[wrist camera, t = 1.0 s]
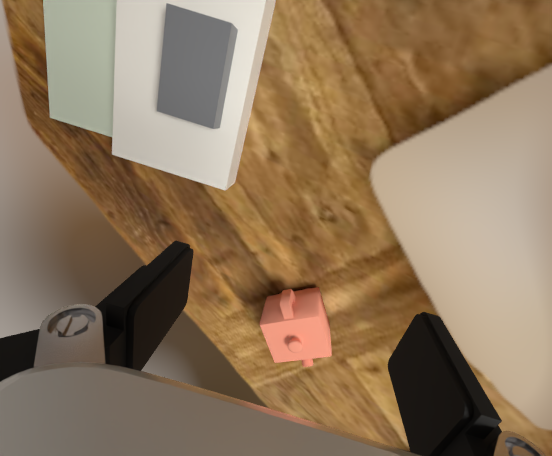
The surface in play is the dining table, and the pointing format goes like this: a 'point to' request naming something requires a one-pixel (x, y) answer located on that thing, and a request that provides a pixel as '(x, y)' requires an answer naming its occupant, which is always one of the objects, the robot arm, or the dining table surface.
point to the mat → (81, 62)
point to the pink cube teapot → (296, 326)
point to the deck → (145, 84)
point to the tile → (195, 66)
